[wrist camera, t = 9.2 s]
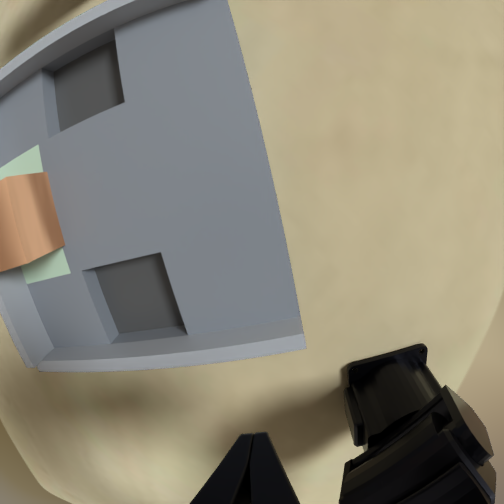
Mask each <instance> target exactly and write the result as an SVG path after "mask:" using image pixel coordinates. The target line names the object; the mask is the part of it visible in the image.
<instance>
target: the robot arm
mask: <svg viewBox="0 0 504 504" xmlns="http://www.w3.org/2000/svg"><path fill="white" fill-rule="evenodd" d="M421 349H422V351H420V350H421ZM419 351H420V352H419ZM426 361H427V347H426V346H425V344H418V345H415V346H412V347H408V348H405V349H402V350H398V351H395V352H391V353H388V354H384V355H381V356H377V357H373V358H369V359H365V360H362V361H358V362H353V363H351V364H350V365H349V366H348V367H347V374H348V388H346V389H345V390H344V400H345V412H346V416H347V419H348V423H349V427H350V431H351V435H352V439H353V442H354V445H355V446H357V447H359V446H363V449H364V453H362V454H361V455H359V456H358V457H356V458H355V459H351V460H349V461H348V462H346V463H345V466H344V473H343V480H342V487H341V493H340V499H339V504H494V503H495V491H496V472H495V470H494V468H493V466H492V465H491V463H490V462H489V459H490V458H491V457H492V456H494V453H493V450H492V446H491V443H490V439H489V436H488V433H487V430H486V427H485V426H484V424H483V423H482V421H481V420H480V419H479V418H478V416H477V414H476V413H475V412H474V410H473V409H472V408H471V407H470V406H469V405H468V404H467V403H466V402H465V401H464V400H462V399H461V398H460V397H459V396H458V395H457V394H456V393H455V392H454V391H452V390H451V389H450V388H449V387H448V386H447V385H445V386H444V387H443V388H442V387H441V386H440V384H439V383H438V381H437V380H436V378H435V377H434V376H433V374H432V373H431V371H430V370H429V368H428V367H427V365H426ZM354 368H356V369H355V370H352V369H354ZM190 504H300V502H299V500H298V498H297V496H296V494H295V492H294V490H293V488H292V486H291V483H290V481H289V479H288V477H287V475H286V473H285V470H284V468H283V466H282V464H281V462H280V459H279V457H278V455H277V453H276V450H275V448H274V446H273V444H272V441H271V439H270V437H269V435H268V433H267V432H257V433H255V434H253V433H247V434H241V435H240V436H239V437H238V439H237V440H236V442H235V443H234V445H233V446H232V447H231V449H230V450H229V452H228V453H227V455H226V456H225V457H224V459H223V460H222V462H221V463H220V464H219V466H218V467H217V468H216V470H215V471H214V472H213V474H212V475H211V477H210V478H209V479H208V481H207V482H206V483H205V484H204V486H203V487H202V488H201V490H200V491H199V492H198V494H197V495H196V496H195V497H194V499H193V500H192V501H191V503H190Z"/></svg>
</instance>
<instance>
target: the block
mask: <svg viewBox="0 0 504 504" xmlns="http://www.w3.org/2000/svg"><path fill="white" fill-rule="evenodd" d="M64 245H65V242H64V238H63V235H62V232H61V228H60V224H59V221H58V217H57V213H56V209H55V205H54V201H53V196H52V192H51V188H50V183H49V178H48V173H47V172H40V173H32V174H23V175H16V176H8V177H5V178H3V179H2V180H0V272H2V271H5V270H8V269H11V268H15V267H18V266H21V265H24V264H27V263H29V262H31V261H33V260H35V259H37V258H39V257H41V256H43V255H45V254H48V253H50V252H52V251H54V250H56V249H58V248H60V247H62V246H64Z"/></svg>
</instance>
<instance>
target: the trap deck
mask: <svg viewBox="0 0 504 504" xmlns="http://www.w3.org/2000/svg"><path fill="white" fill-rule="evenodd" d="M40 172H47V173H48V178H49V183H50V188H51V192H52V196H53V201H54V205H55V209H56V213H57V217H58V221H59V224H60V228H61V232H62V235H63V238H64V242H65V245H64V246H62V247H60V248H58V249H56V250H54V251H52V252H50V253H48V254H45V255H43V256H41V257H39V258H37V259H35V260H33V261H31V262H29V263H27V264H24V265H21V266H18V267H15V268H11V269H8V270H5V271H2V272H0V313H1V315H2V318H3V320H4V322H5V325H6V327H7V329H8V331H9V333H10V336H11V338H12V340H13V342H14V344H15V346H16V348H17V350H18V352H19V354H20V356H21V358H22V360H23V361H24V363H25V365H26V367H27V368H35V367H36V366H37V368H38V370H39V372H111V371H133V370H149V369H163V368H175V367H185V366H195V365H204V364H212V363H220V362H228V361H235V360H242V359H249V358H256V357H262V356H268V355H274V354H280V353H285V352H291V351H296V350H301V349H306V343H305V337H304V331H303V326H302V321H301V316H300V311H299V306H298V300H297V295H296V290H295V284H294V279H293V274H292V269H291V264H290V259H289V254H288V249H287V244H286V239H285V234H284V230H283V225H282V220H281V215H280V211H279V206H278V201H277V197H276V192H275V188H274V183H273V179H272V174H271V170H270V165H269V161H268V157H267V152H266V148H265V144H264V140H263V135H262V131H261V127H260V123H259V119H258V115H257V110H256V106H255V102H254V98H253V94H252V90H251V86H250V82H249V78H248V75H247V71H246V67H245V63H244V59H243V55H242V52H241V48H240V44H239V41H238V37H237V33H236V30H235V26H234V22H233V19H232V15H231V12H230V8H229V5H228V1H227V0H107V1H105V2H103V3H101V4H99V5H97V6H95V7H93V8H91V9H90V10H88V11H86V12H84V13H82V14H80V15H78V16H77V17H75V18H73V19H71V20H70V21H68V22H66V23H65V24H63V25H61V26H60V27H58V28H56V29H55V30H53V31H52V32H50V33H49V34H47V35H46V36H44V37H43V38H41V39H40V40H38V41H37V42H35V43H34V44H32V45H31V46H30V47H28V48H27V49H25V50H24V51H23V52H21V53H20V54H19V55H17V56H16V57H15V58H13V59H12V60H11V61H10V62H8V63H7V64H6V65H5V66H3V67H2V68H1V69H0V180H2V179H3V178H5V177H8V176H16V175H23V174H32V173H40Z"/></svg>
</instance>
